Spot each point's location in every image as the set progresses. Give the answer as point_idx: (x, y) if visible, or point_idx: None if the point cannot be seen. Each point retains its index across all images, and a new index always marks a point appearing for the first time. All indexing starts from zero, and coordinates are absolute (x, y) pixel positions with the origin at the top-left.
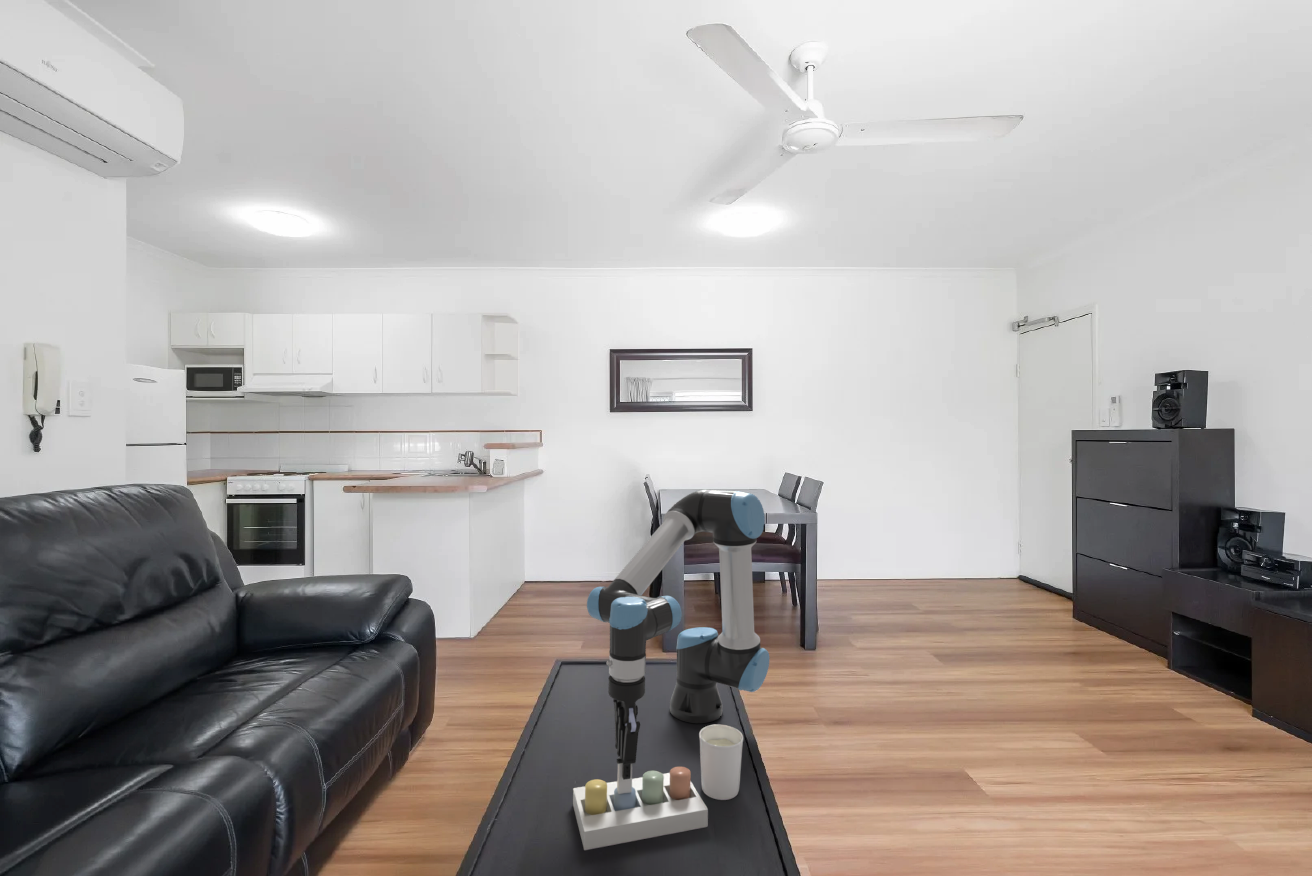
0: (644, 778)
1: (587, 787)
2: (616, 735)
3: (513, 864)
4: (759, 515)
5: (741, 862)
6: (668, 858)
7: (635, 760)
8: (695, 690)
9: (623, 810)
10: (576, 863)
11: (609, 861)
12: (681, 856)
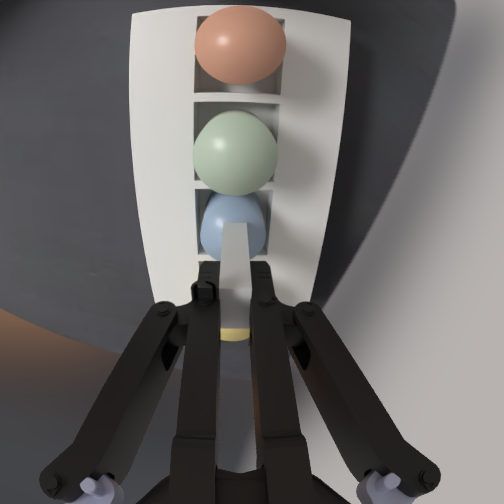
0: (236, 190)
1: (234, 338)
2: (166, 381)
3: None
4: None
5: (441, 43)
6: (388, 158)
7: (323, 313)
8: None
9: (271, 235)
10: (322, 303)
11: (344, 259)
12: (394, 131)
